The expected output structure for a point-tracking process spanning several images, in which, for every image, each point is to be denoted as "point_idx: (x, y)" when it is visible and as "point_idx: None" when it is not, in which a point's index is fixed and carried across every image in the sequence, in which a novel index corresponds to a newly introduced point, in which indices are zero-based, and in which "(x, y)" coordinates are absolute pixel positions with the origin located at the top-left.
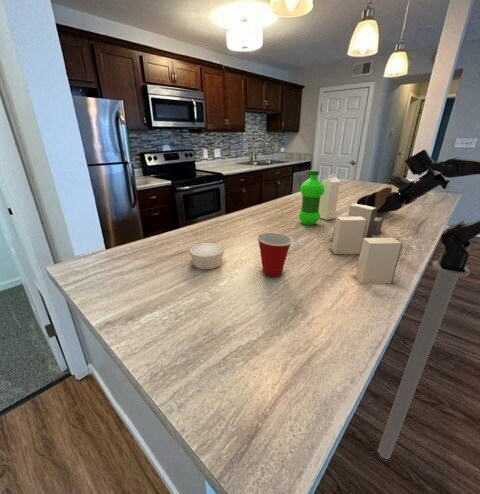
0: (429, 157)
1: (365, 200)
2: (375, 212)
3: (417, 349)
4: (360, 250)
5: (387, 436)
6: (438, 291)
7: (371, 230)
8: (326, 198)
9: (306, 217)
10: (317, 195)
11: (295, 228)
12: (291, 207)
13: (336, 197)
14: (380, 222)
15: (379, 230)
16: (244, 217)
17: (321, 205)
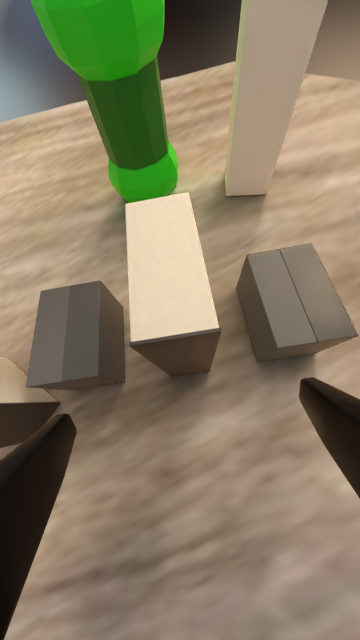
0: None
1: None
2: (208, 344)
3: None
4: (19, 442)
5: None
6: None
7: (202, 367)
8: (236, 87)
9: (111, 179)
10: (87, 65)
11: (88, 208)
12: (225, 102)
13: (290, 86)
14: (313, 345)
15: (302, 354)
16: (66, 124)
17: (230, 124)
